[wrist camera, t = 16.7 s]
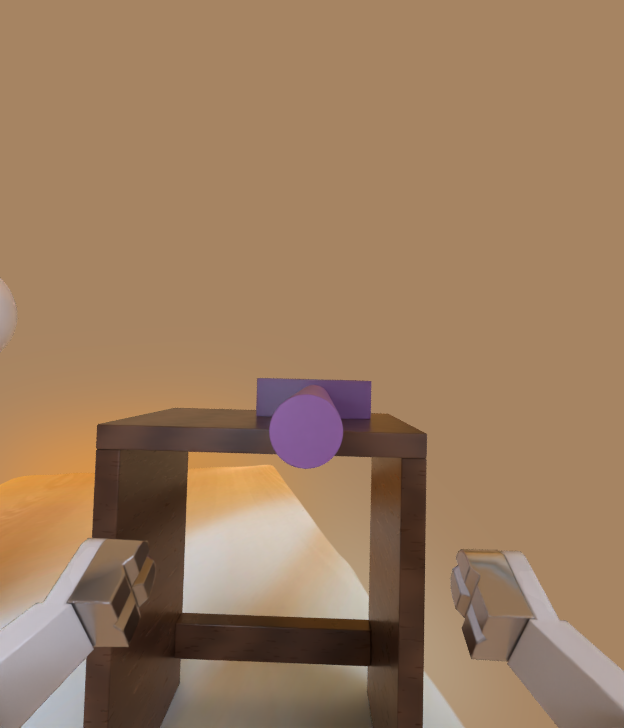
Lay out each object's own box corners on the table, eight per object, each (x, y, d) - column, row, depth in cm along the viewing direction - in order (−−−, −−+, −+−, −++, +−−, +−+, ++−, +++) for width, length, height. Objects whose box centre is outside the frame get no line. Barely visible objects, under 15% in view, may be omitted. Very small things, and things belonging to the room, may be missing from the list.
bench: (76, 854, 21) (96, 424, 22) (163, 682, 33) (174, 407, 34) (421, 872, 21) (427, 433, 22) (383, 692, 33) (388, 413, 34)
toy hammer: (435, 473, 13) (436, 386, 13) (176, 464, 13) (179, 379, 13) (363, 413, 33) (364, 380, 33) (264, 411, 33) (265, 378, 33)
